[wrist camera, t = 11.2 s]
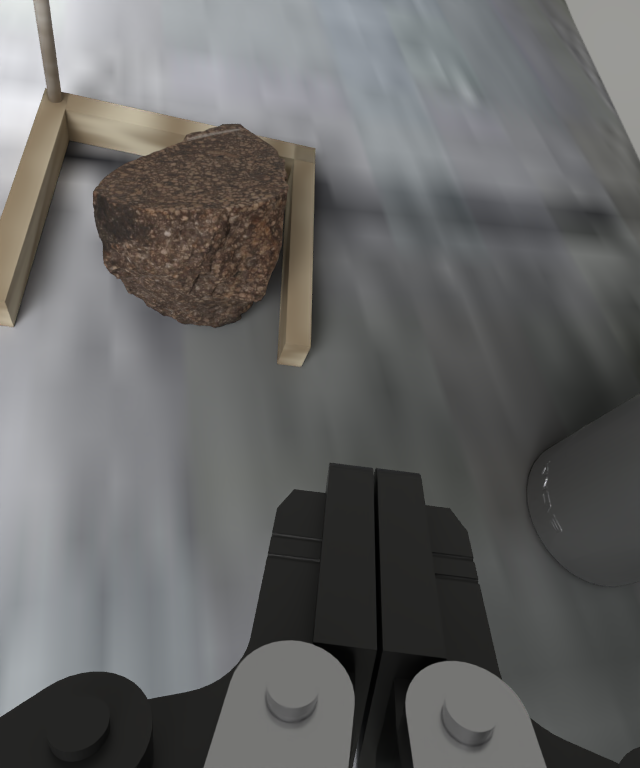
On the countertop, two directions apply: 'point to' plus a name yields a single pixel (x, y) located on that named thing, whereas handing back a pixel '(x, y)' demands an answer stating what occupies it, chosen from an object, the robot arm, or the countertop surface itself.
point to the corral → (142, 136)
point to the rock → (196, 224)
